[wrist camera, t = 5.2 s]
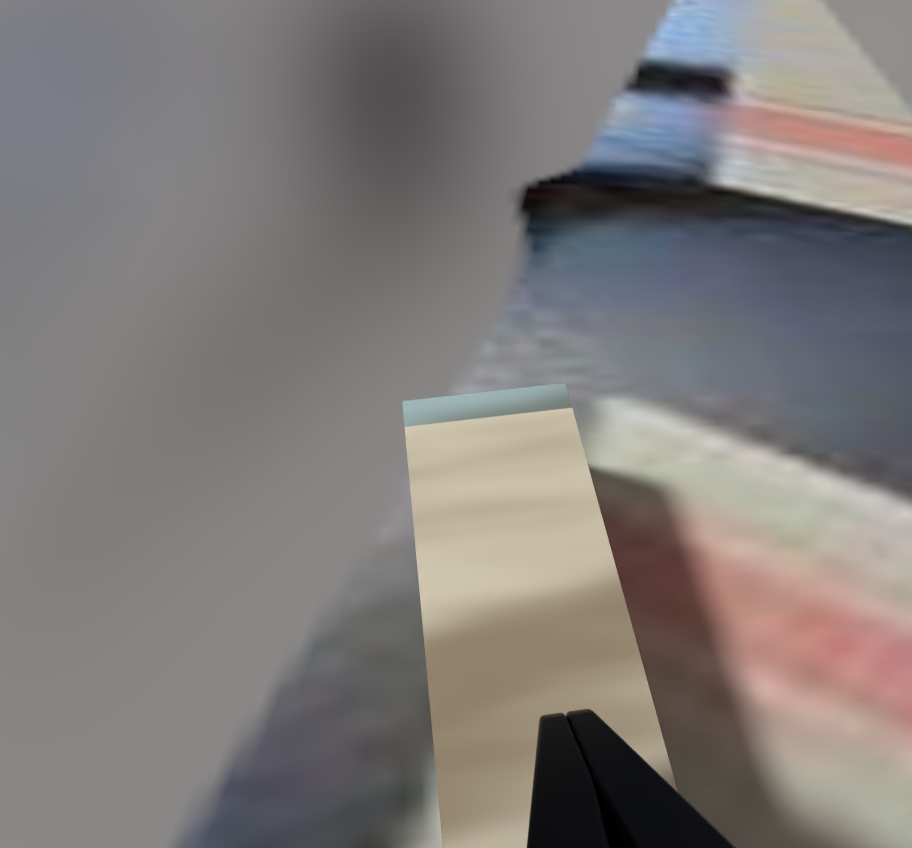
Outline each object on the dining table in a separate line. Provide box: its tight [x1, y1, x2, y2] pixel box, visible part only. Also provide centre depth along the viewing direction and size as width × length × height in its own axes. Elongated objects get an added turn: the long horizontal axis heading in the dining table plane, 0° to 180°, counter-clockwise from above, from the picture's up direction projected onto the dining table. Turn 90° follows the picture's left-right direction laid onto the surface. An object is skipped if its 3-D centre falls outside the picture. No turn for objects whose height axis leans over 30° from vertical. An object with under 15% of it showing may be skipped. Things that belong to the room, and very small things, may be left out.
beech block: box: [403, 383, 678, 848], centre depth 14 cm, size 4×4×10 cm
